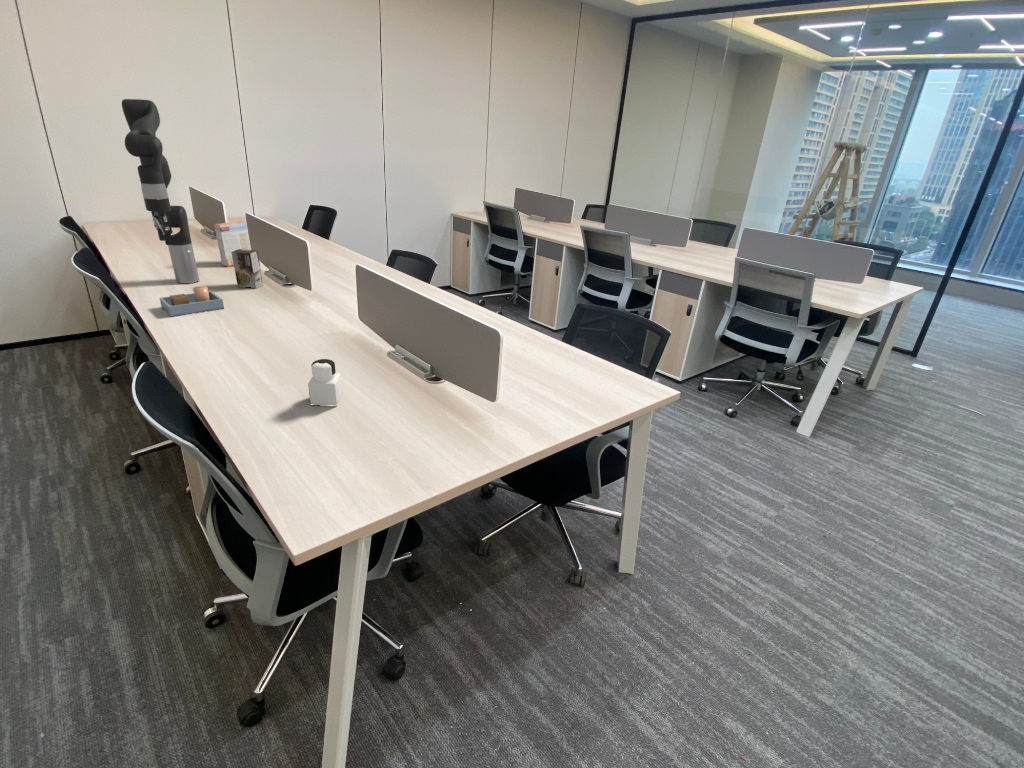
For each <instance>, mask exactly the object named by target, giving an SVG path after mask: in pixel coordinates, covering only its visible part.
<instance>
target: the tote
mask: <svg viewBox="0 0 1024 768" xmlns="http://www.w3.org/2000/svg"><path fill="white" fill-rule="evenodd" d="M208 293H209V298H210V300H209V301H203V302H196V300H195V295H194V292H193V293H187V294H185V293H184V294H185V295H186V296H188V299H189V304H182V305H175V306H172V303H171V299H170V296H164V297H159V303H160V306H161V309H162V310H163V311H165V313H167V314H168V315H169V317H171V318H174V317H175V316H176V317H180V316H181V315H182V316H187V315H186V314H188V315H193V314H192V313H195V314H198V313H199V312H201V313H206V312H205V311H207V312H211V311H212V312H213V310H214V311H219V309H220V310H224V309H225V306H224V300H223V298H221V297H220V296H219V295H218V294H216V293H215V292H213V291H212V290H208ZM199 314H200V313H199Z"/></svg>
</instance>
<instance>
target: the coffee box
mask: <svg viewBox="0 0 1024 768" xmlns="http://www.w3.org/2000/svg"><path fill="white" fill-rule="evenodd" d="M231 253H232V258H233V264H234V266H233V269H234V273H235V279H236V283H237V287H238V286H241V287H240V288H245V287H251V288H250V289H258V288H260V287H263V286H264V283H263V276H262V269H261V264H260V256H259V251H258V250H257V249H256V250H253V249H251V250H245V249H238V250H235V251H233V252H231ZM262 285H263V286H262ZM257 287H258V288H257Z"/></svg>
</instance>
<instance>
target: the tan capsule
mask: <svg viewBox="0 0 1024 768" xmlns="http://www.w3.org/2000/svg"><path fill="white" fill-rule="evenodd" d="M208 288H209V287H207V286H202V285H201V286H194V287H192V291H193V293H194V295H195V300H196V302H203V301H209V300H210V298H209V293H208V291H209V289H208Z"/></svg>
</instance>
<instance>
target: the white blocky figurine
mask: <svg viewBox="0 0 1024 768" xmlns="http://www.w3.org/2000/svg"><path fill="white" fill-rule="evenodd" d="M311 374H312V375H311V376H312V377H311V378H310V380H309V381H308V383H307V386H308V391H309V392H308V393H309V394H308V395H309V400H310V401H309V403H310V405H311V404H313V405H337V404H338V405H339V403H340V401H339V400H341V399H340V398H342V397H341V395H342V396H343V388H342V387H343V386H342V379H341V377H342V376H341V373H340V372H336V364H335V361H334V360H331V359H328V358H319V359H316V360H314V361H313V362H312V363H311ZM338 402H339V403H338ZM338 405H337V406H338Z"/></svg>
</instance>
